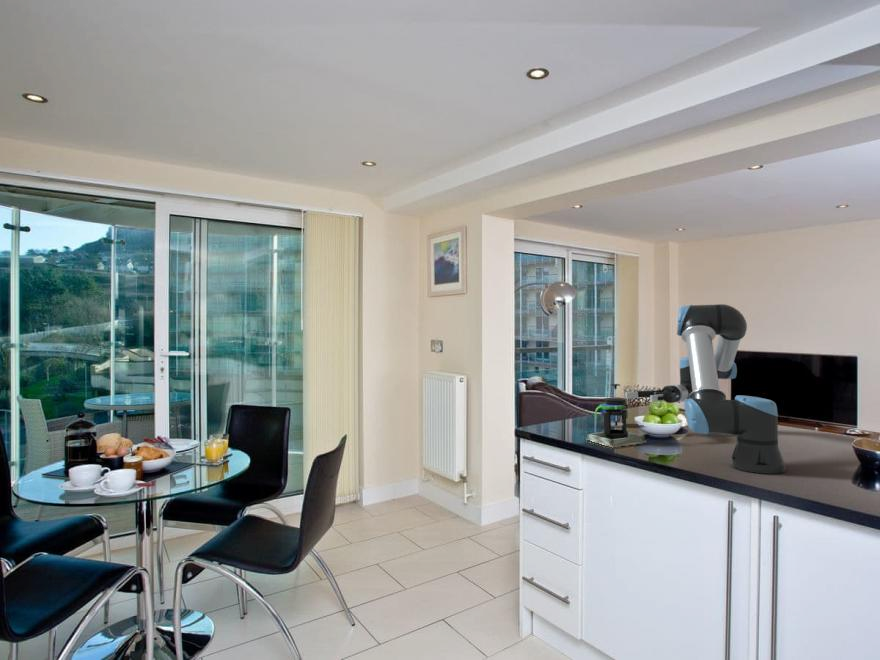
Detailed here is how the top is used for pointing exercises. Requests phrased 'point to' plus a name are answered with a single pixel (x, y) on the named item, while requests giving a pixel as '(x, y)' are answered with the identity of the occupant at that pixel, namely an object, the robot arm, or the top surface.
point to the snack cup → (605, 407)
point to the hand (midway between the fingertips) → (638, 397)
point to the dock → (627, 441)
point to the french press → (616, 412)
